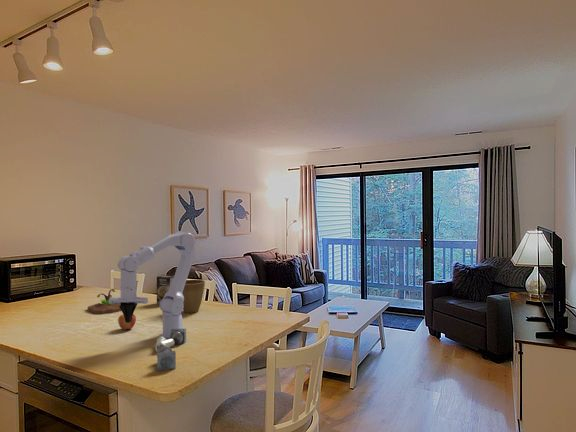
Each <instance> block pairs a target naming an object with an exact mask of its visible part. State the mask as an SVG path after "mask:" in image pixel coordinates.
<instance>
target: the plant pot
mask: <svg viewBox="0 0 576 432" xmlns="http://www.w3.org/2000/svg"><path fill="white" fill-rule="evenodd" d="M205 283H206V281H205V280H203V279H187V280H186V283H185V286H184V289H183V292H182V294H183V297H184V302H183V306H184V307H183V310H182V311H183V313H186V314H194V313H197V312H199V310H200V307H201V305H202V301H203V297H204V291H205V286H206V284H205Z"/></svg>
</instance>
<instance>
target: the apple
mask: <svg viewBox="0 0 576 432" xmlns="http://www.w3.org/2000/svg"><path fill="white" fill-rule="evenodd" d="M136 321H137V316H136V315H135V314H134V313H133V316H132V320H131V322H129V323H126V322H125V318H124V315H123V314H121V315H119V317H118V319H117V323H118V325H119V328H121V330H122V331H125V330H132V329H133V327H134V326H135V324H136Z"/></svg>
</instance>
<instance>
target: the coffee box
mask: <svg viewBox="0 0 576 432" xmlns="http://www.w3.org/2000/svg"><path fill="white" fill-rule="evenodd" d="M174 276H175V275H158V276H156V305H160V302H161V300H162V299H163V298H164V296H165V294H166V293H167V292H168V291H169V290H170V287H171V284H172V281H173V279H174Z"/></svg>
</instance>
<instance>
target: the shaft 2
mask: <svg viewBox="0 0 576 432" xmlns="http://www.w3.org/2000/svg"><path fill="white" fill-rule="evenodd" d="M170 338H172V339H173V340H174V341H175V344H174V346H178V345H180V344H186V342H187V328H182V329H171V335H170V337H169V338H168V339H170Z"/></svg>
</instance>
